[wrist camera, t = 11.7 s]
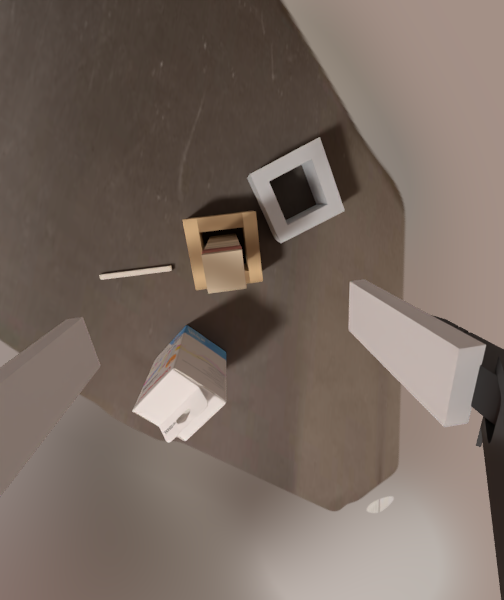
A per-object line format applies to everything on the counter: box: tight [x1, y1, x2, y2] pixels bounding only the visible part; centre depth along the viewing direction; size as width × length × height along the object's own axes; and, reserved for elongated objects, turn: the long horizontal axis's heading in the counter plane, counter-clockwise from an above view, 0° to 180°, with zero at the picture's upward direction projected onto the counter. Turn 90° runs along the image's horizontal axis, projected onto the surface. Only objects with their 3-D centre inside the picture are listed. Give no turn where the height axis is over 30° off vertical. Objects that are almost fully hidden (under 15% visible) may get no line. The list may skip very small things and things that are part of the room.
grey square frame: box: [247, 137, 345, 243], centre depth 34 cm, size 9×9×4 cm
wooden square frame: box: [183, 211, 263, 290], centre depth 36 cm, size 9×9×4 cm
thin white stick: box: [99, 265, 172, 280], centre depth 38 cm, size 1×10×1 cm, turn 97°
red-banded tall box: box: [201, 233, 246, 294], centre depth 31 cm, size 4×4×15 cm
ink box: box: [132, 325, 227, 442], centre depth 37 cm, size 9×8×13 cm
